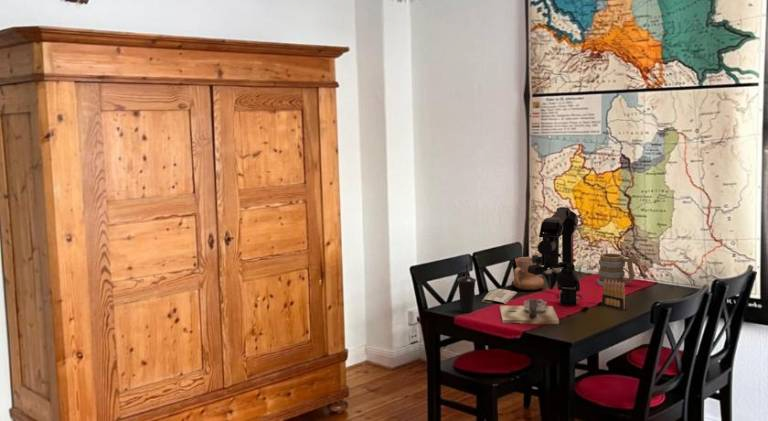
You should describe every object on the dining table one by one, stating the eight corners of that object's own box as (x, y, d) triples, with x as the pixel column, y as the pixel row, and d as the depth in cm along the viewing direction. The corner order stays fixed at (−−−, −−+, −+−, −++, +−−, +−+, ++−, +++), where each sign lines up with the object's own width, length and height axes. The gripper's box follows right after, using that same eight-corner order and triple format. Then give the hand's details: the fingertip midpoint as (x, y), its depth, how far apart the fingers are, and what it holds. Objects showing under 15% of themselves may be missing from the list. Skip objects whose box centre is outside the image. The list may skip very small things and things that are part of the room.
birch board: (552, 309, 335) (552, 305, 335) (558, 324, 313) (559, 319, 313) (499, 309, 337) (499, 305, 337) (502, 323, 315) (502, 319, 315)
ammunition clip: (625, 309, 333) (626, 281, 331) (623, 310, 332) (624, 282, 330) (604, 305, 341) (604, 277, 340) (601, 305, 340) (602, 278, 338)
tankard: (592, 284, 380) (593, 253, 378) (606, 279, 389) (607, 249, 387) (630, 291, 366) (631, 258, 363) (644, 286, 374) (645, 255, 372)
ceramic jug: (529, 283, 383) (529, 254, 381) (552, 288, 372) (552, 259, 370) (502, 289, 373) (502, 259, 371) (525, 294, 361) (525, 264, 359)
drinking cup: (464, 314, 329) (464, 267, 327) (454, 310, 336) (454, 264, 333) (479, 312, 333) (479, 265, 330) (469, 308, 340) (469, 262, 337)
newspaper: (490, 292, 370) (491, 287, 369) (516, 297, 365) (517, 291, 365) (477, 303, 349) (477, 297, 348) (504, 308, 344) (504, 303, 344)
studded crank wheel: (525, 306, 333) (525, 290, 332) (546, 308, 331) (547, 291, 330) (521, 317, 317) (521, 299, 316) (544, 318, 315) (544, 301, 314)
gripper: (559, 245, 325) (558, 282, 327) (520, 249, 318) (519, 287, 320) (575, 250, 315) (575, 288, 317) (535, 254, 308) (535, 293, 310)
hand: (550, 289), depth 316 cm, fingers closed
